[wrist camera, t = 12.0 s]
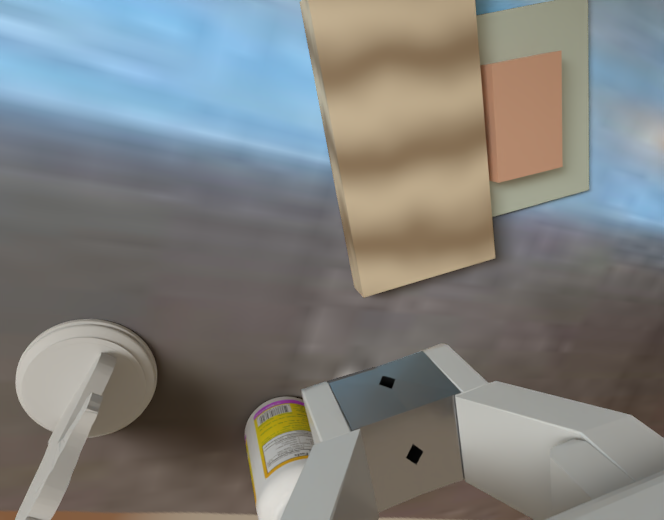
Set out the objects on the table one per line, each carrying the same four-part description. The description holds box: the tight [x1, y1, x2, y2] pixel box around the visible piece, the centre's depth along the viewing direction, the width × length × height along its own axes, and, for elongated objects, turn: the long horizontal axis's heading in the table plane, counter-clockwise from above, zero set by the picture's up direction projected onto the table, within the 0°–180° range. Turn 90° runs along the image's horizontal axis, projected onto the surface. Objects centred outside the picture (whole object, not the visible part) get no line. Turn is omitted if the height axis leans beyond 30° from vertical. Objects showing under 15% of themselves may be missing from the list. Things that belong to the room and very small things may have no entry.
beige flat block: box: [300, 0, 495, 298], centre depth 38 cm, size 22×12×2 cm, turn 11°
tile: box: [480, 51, 563, 183], centre depth 39 cm, size 9×6×2 cm, turn 10°
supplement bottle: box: [245, 396, 314, 520], centre depth 38 cm, size 7×7×13 cm
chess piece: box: [15, 319, 157, 520], centre depth 31 cm, size 10×10×15 cm
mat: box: [476, 0, 589, 217], centre depth 41 cm, size 16×11×1 cm
